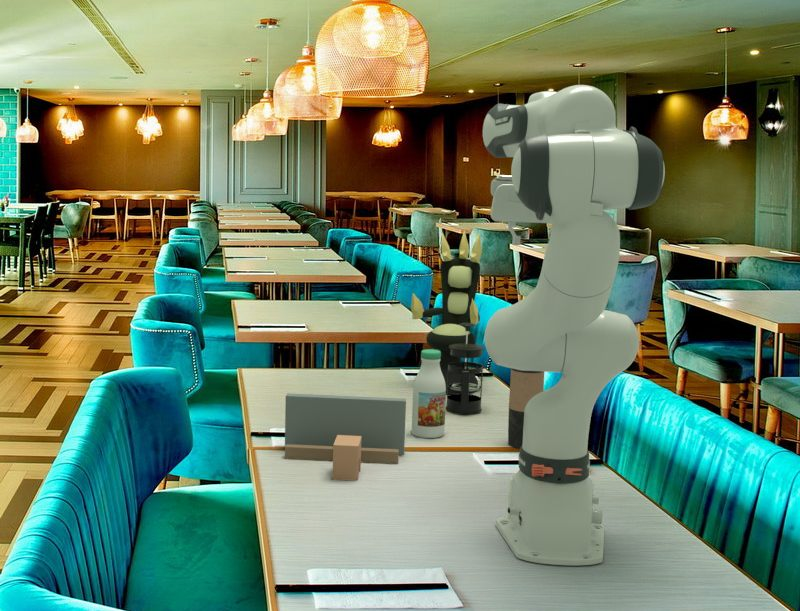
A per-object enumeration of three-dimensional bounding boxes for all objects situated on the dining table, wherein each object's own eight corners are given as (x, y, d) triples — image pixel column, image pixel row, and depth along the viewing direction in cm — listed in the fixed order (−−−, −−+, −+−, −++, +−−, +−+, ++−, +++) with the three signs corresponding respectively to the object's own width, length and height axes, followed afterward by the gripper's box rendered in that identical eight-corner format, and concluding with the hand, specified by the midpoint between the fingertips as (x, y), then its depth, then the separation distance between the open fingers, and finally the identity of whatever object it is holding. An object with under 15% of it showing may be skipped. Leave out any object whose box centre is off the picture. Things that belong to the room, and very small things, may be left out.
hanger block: (357, 480, 180) (358, 446, 179) (332, 479, 180) (333, 444, 179) (360, 468, 187) (361, 436, 186) (336, 467, 187) (337, 434, 186)
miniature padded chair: (406, 391, 255) (411, 231, 249) (428, 375, 276) (434, 227, 269) (471, 398, 249) (479, 234, 243) (489, 382, 270) (497, 230, 264)
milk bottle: (405, 435, 212) (408, 351, 209) (420, 427, 219) (423, 346, 216) (435, 440, 209) (439, 355, 206) (449, 432, 216) (453, 350, 213)
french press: (445, 404, 242) (449, 319, 239) (480, 405, 242) (484, 320, 239) (445, 415, 231) (449, 326, 227) (482, 417, 230) (486, 328, 227)
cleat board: (402, 463, 191) (404, 408, 190) (280, 458, 192) (280, 402, 191) (404, 451, 200) (406, 398, 198) (286, 446, 201) (287, 393, 199)
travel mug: (539, 451, 204) (544, 363, 201) (505, 447, 205) (509, 361, 202) (541, 441, 211) (546, 357, 208) (508, 438, 213) (512, 354, 210)
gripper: (492, 174, 177) (488, 245, 179) (597, 177, 177) (593, 249, 179) (490, 174, 184) (487, 242, 186) (592, 177, 183) (587, 246, 185)
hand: (539, 245), depth 182 cm, fingers open, 8 cm apart
